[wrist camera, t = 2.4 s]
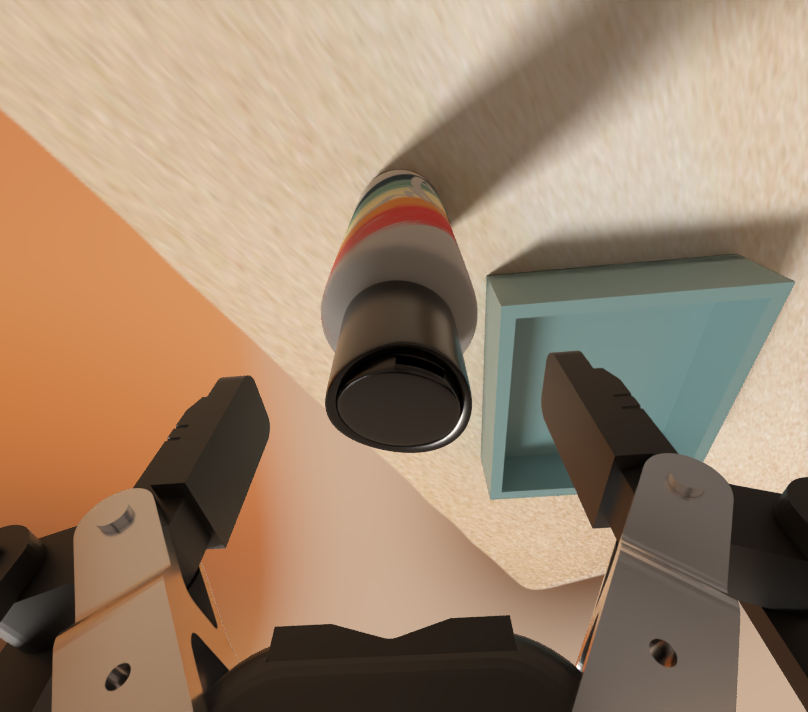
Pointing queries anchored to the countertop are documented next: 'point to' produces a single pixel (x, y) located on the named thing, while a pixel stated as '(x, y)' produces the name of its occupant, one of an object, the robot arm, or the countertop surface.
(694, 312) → the tray
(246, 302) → the countertop surface
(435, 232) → the lotion bottle
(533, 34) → the countertop surface
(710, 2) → the countertop surface
